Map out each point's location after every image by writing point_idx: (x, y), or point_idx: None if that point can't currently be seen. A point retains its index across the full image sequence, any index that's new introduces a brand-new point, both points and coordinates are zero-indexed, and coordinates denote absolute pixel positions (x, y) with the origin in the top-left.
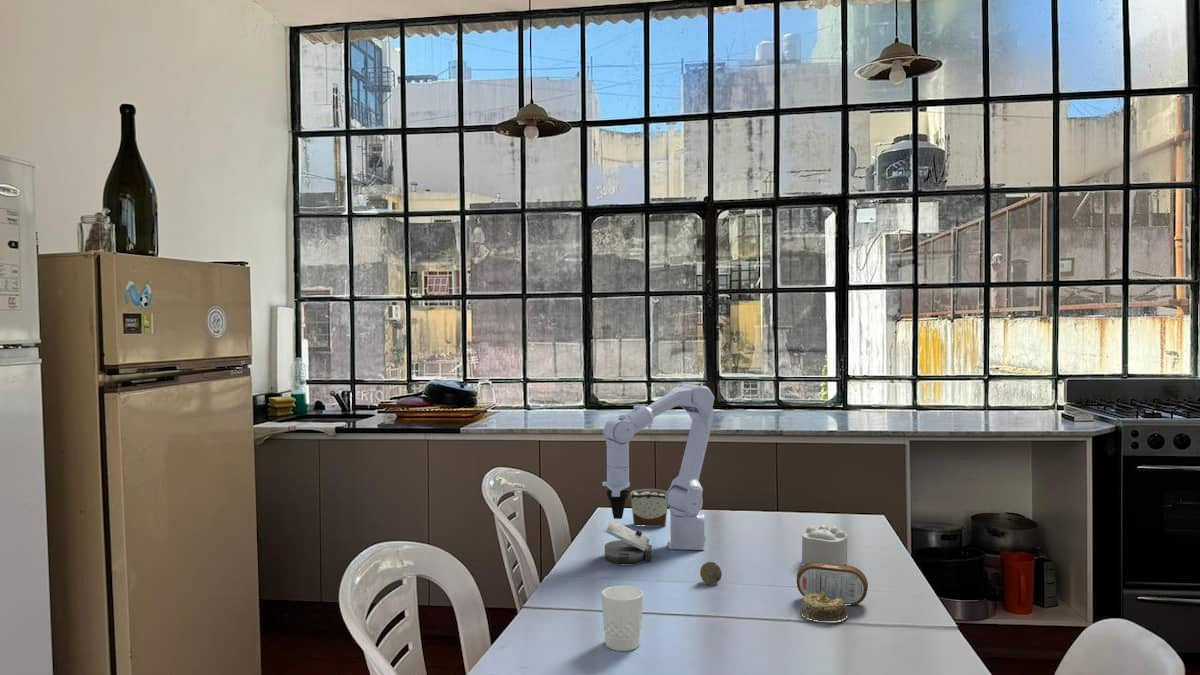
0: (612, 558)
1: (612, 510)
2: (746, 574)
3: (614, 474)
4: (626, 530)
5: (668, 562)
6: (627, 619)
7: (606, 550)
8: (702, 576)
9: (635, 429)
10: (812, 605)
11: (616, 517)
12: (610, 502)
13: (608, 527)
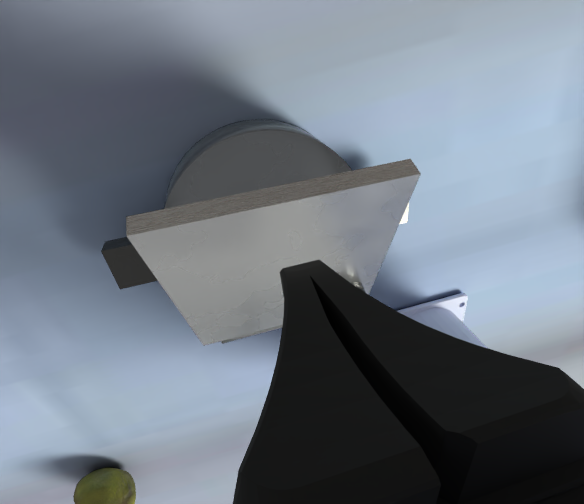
0: (169, 188)
1: (285, 308)
2: (214, 490)
3: None
4: (328, 264)
5: (252, 347)
6: None
7: (196, 157)
8: (76, 491)
9: None
10: None
11: (283, 292)
12: (274, 377)
13: (199, 223)
